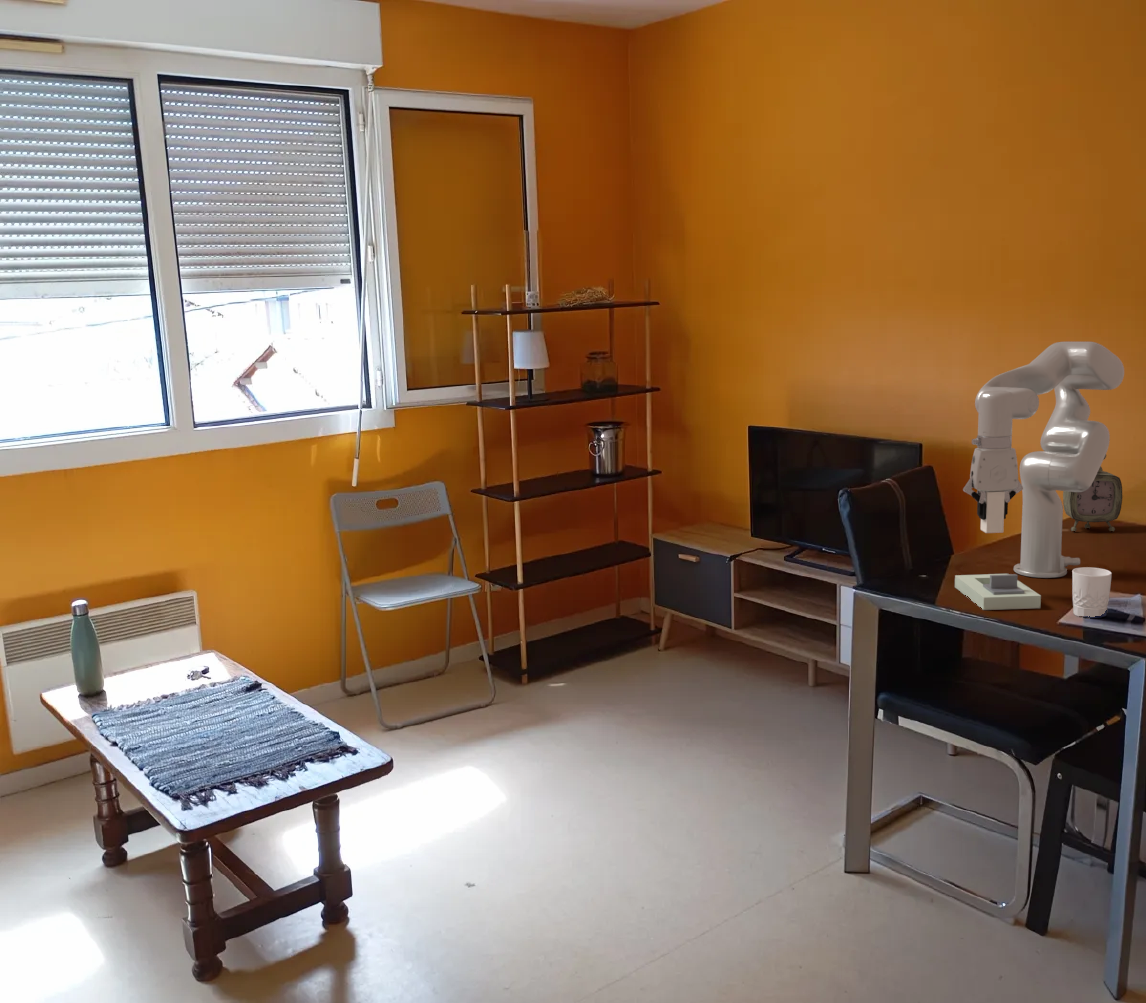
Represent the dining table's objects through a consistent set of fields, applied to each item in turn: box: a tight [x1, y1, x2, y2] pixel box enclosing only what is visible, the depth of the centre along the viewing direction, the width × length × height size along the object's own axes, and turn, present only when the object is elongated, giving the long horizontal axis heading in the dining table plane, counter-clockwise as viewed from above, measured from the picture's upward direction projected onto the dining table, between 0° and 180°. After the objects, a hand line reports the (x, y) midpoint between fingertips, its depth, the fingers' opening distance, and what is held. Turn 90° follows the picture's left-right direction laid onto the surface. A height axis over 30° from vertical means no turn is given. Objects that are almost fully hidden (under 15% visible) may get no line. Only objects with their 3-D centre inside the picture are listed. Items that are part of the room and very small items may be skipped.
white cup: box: [1071, 566, 1113, 617], centre depth 233 cm, size 8×8×10 cm
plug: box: [980, 491, 1005, 534], centre depth 250 cm, size 4×4×12 cm
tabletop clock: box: [1062, 454, 1123, 532], centre depth 312 cm, size 14×9×25 cm, turn 80°
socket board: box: [954, 573, 1042, 611], centre depth 250 cm, size 13×20×3 cm, turn 178°
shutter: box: [983, 573, 1024, 594], centre depth 245 cm, size 7×7×4 cm
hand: (992, 517), depth 251 cm, fingers closed on plug, 4 cm apart
